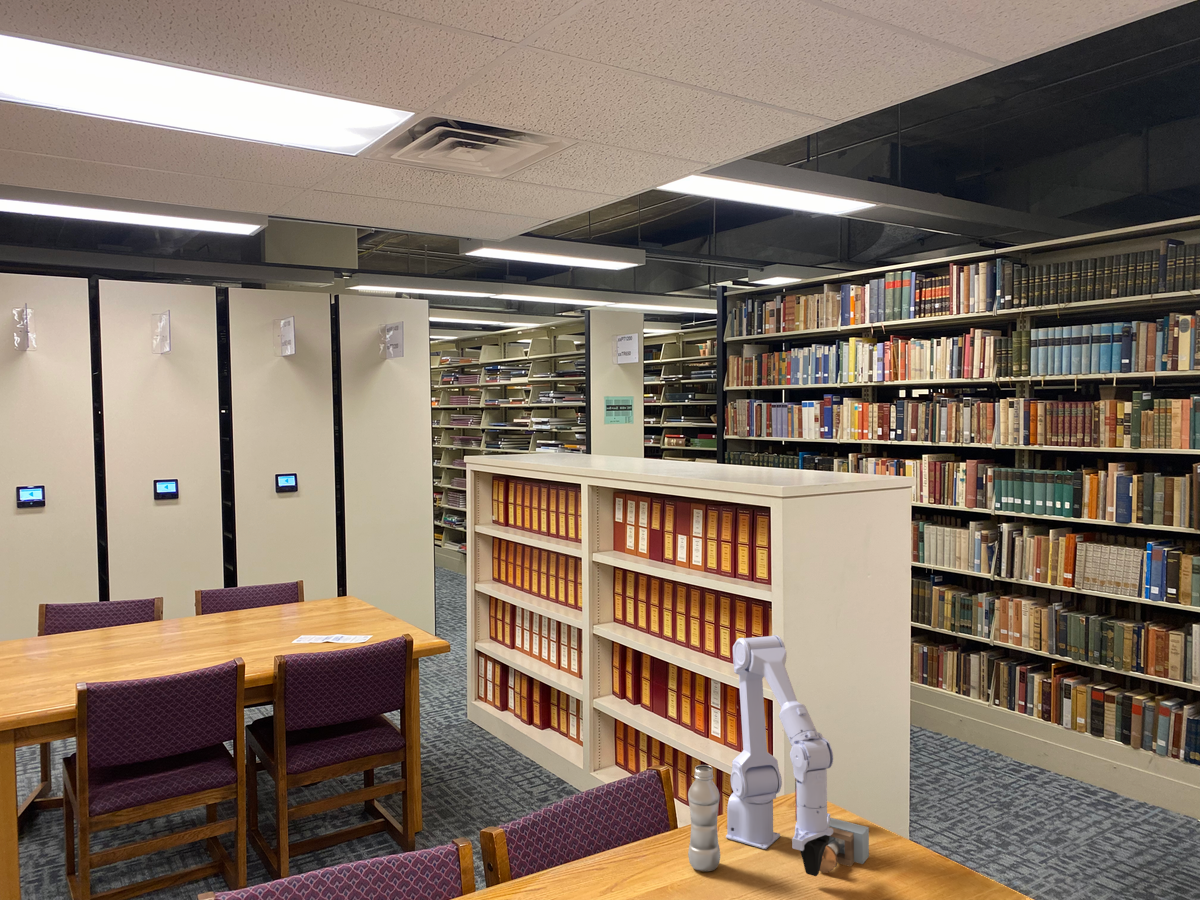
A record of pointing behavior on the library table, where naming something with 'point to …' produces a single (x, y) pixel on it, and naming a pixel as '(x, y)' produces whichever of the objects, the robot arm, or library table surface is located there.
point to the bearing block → (859, 838)
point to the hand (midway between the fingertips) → (812, 873)
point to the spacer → (849, 846)
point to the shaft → (831, 855)
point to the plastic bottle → (704, 820)
